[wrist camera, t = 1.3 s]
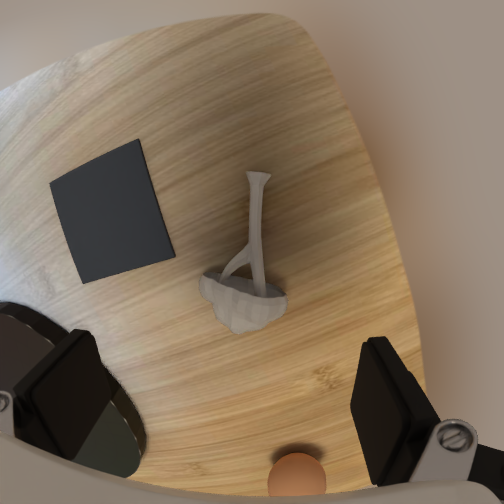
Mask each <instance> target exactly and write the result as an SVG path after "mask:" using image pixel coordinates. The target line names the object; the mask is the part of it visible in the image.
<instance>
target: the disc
mask: <svg viewBox="0 0 504 504" xmlns="http://www.w3.org/2000/svg"><path fill="white" fill-rule="evenodd" d="M67 335H68V333H66V332H65V331H64V330H63V329H61V328H60V327H58V326H57V325H55V324H54V323H52V322H51V321H50V320H48V319H47V318H45V317H44V316H42V315H40V314H38V313H36V312H34V311H32V310H30V309H28V308H26V307H23V306H20V305H16V304H13V303H0V391H6V392H8V393H10V394H11V395H12V397H13V399H14V398H15V397H16V395H15V393H14V391H13V389H12V388H13V387H14V386H15V385H16V384H17V383H18V382H19V381H20V380H21V379H22V378H23V377H24V376H25V375H26V374H27V373H28V372H29V371H30V370H31V369H32V368H33V367H34V366H35V365H36V364H37V363H38V362H39V361H40V360H42V359H43V358H44V357H45V356H46V355H47V354H48V353H49V352H50V351H51V350H52V349H53V348H54V347H55V346H56V345H57V344H58V343H60V342H61V341H62V340H63V339H64V338H65V337H66V336H67ZM103 368H104V367H103ZM104 372H105V375H106V378H107V381H108V384H109V387H110V390H111V400H110V402H109V403H108V405H107V406H106V408H105V410H104V411H103V413H102V414H101V416H100V418H99V419H98V421H97V422H96V424H95V426H94V427H93V429H92V431H91V432H90V434H89V436H88V437H87V439H86V441H85V442H84V444H83V446H82V447H81V449H80V451H79V452H78V454H77V456H76V457H75V459H73V460H71V462H74V463H77V464H80V465H82V466H85V467H88V468H91V469H95V470H98V471H101V472H104V473H108V474H111V475H115V476H118V477H122V478H127V477H129V476H131V475H132V474H134V473H135V472H136V471H137V469H138V467H139V465H140V460H141V457H142V455H143V452H144V450H145V445H146V436H145V432H144V428H143V424H142V422H141V420H140V418H139V416H138V414H137V412H136V409H135V407H134V406H133V404H132V403H131V401H130V400H129V398H128V397H127V395H126V394H125V393H124V391H123V390H122V388H121V387H120V386H119V384H118V383H117V382H116V381H115V380H114V379H113V377H112V376H111V375H110V374H109V373H108V371H107V370H106V369H105V368H104Z"/></svg>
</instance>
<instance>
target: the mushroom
mask: <svg viewBox="0 0 504 504" xmlns="http://www.w3.org/2000/svg"><path fill="white" fill-rule="evenodd" d="M246 175H247V178H248V181H249V183H250V209H249V243H248V244H247V245H246V246H245V248H244V249H243V250H242V251H240V252H239V253H238V254H237V255H236V256H235V257H234V258H233V259H232V260H231V261H230V262H229V263H228V264H227V266H226V267H225V269H224V271H223V273H222V274H220V273H214V272H205V273H203V274H202V276H201V277H200V279H199V290H200V293H201V295H202V297H203V298H205V299H206V300H207V301H209V302H211V303H213V311H214V313H215V316H216V318H217V320H218V321H220V322H221V323H222V324H223V325H225V326H227V327H228V328H229V329H230V330H231V331H232V333H236V334H242V333H244V332H246V331H256V330H260V329H262V328H264V327H265V326H266V325H267V324H268V323H269V322H271V321H273V320H276V319H278V318H280V317H282V315H283V314H284V313H285V311H286V309H287V305H288V301H289V300H288V298H287V295H286V294H285V293H284V292H283V291H282V289H280V288H279V287H277V286H275V285H273V284H270V283H265V275H264V264H263V253H262V241H261V213H262V197H263V188H264V185H265V184H266V182H267V181H268V179H269V178H270V177H271V174H267V173H263V172H253V171H247V172H246ZM249 263H250V264H251V270H252V276H253V280H252V279H246V278H243V277H238V276H232V275H231V273H232V272H234V271H235V270H236V269H238V268H239V267H240V266H243V265H245V264H249Z"/></svg>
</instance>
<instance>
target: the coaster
mask: <svg viewBox="0 0 504 504" xmlns="http://www.w3.org/2000/svg"><path fill="white" fill-rule="evenodd" d="M49 184H50V188H51V192H52V195H53V199H54V202H55V206H56V209H57V213H58V216H59V219H60V222H61V226H62V229H63V232H64V235H65V238H66V241H67V244H68V246H69V249H70V252H71V255H72V257H73V260H74V263H75V265H76V268H77V271H78V273H79V276H80V278H81V281H82V283H83V284H85V283H88V282H92V281H95V280H98V279H102V278H105V277H109V276H112V275H115V274H119V273H122V272H126V271H129V270H133V269H136V268H139V267H143V266H146V265H150V264H153V263H157V262H160V261H164V260H167V259H171V258H174V257H176V256H175V253H174V250H173V247H172V244H171V241H170V238H169V235H168V233H167V230H166V227H165V224H164V221H163V217H162V214H161V211H160V208H159V205H158V202H157V199H156V196H155V192H154V189H153V186H152V183H151V179H150V176H149V173H148V169H147V166H146V162H145V159H144V155H143V152H142V148H141V145H140V141H139V139H136V140H134V141H132V142H129V143H127V144H125V145H123V146H120V147H118V148H116V149H114V150H112V151H110V152H107V153H105V154H103V155H101V156H99V157H97V158H95V159H93V160H91V161H89V162H87V163H85V164H83V165H81V166H80V167H78V168H76V169H74V170H72V171H70V172H68V173H66V174H65V175H63V176H61V177H59V178H57V179H56V180H54V181H52V182H50V183H49Z"/></svg>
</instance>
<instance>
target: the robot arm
mask: <svg viewBox="0 0 504 504" xmlns="http://www.w3.org/2000/svg"><path fill="white" fill-rule="evenodd" d="M12 389H13V391H14V393H15V395H16V397H15V398H14V399H13V397H12V395H11V394H10V393H8V392H6V391H0V504H504V451H501V450H497V449H494V448H490V447H487V446H484V445H481V444H478V435H477V432H476V430H475V429H474V428H473V426H471V425H470V424H469V423H467V422H465V421H463V420H459V419H447V420H444V421H441V420H440V418H439V417H438V415H437V413H436V412H435V410H434V408H433V407H432V405H431V403H430V402H429V400H428V398H427V397H426V395H425V393H424V392H423V390H422V389H421V387H420V385H419V384H418V382H417V380H416V379H415V377H414V376H413V374H412V373H411V372H410V371H408V370H407V368H406V367H405V365H404V364H403V362H402V361H401V359H400V357H399V356H398V354H397V353H396V351H395V350H394V348H393V347H392V345H391V343H390V342H389V340H388V339H387V338H386V337H385V336H382V337H370V338H368V340H367V342H363V344H362V348H361V353H360V359H359V364H358V369H357V374H356V379H355V384H354V389H353V393H352V398H351V403H350V408H351V413H352V417H353V420H354V423H355V427H356V430H357V433H358V437H359V440H360V444H361V447H362V451H363V454H364V458H365V461H366V465H367V468H368V472H369V476H370V480H371V483H372V484H373V485H376V484H377V486H378V487H375V488H369V489H362V490H355V491H348V492H339V493H330V494H318V495H303V496H237V495H222V494H211V493H202V492H194V491H186V490H180V489H174V488H168V487H162V486H157V485H152V484H147V483H143V482H138V481H134V480H130V479H126V478H122V477H118V476H115V475H111V474H108V473H104V472H101V471H98V470H95V469H91V468H88V467H85V466H82V465H80V464H77V463H74V462H71V460H73V459H75V457H76V456H77V454H78V452H79V451H80V449H81V447H82V446H83V444H84V442H85V441H86V439H87V437H88V436H89V434H90V432H91V431H92V429H93V427H94V426H95V424H96V422H97V421H98V419H99V418H100V416H101V414H102V413H103V411H104V410H105V408H106V406H107V405H108V403H109V402H110V400H111V390H110V387H109V384H108V381H107V378H106V375H105V372H104V368H103V365H102V362H101V359H100V355H99V352H98V348H97V345H96V341H95V338H94V336H93V335H91V333H90V332H89V331H87V330H80V329H74V330H73V331H72V332H70V333H69V334H68V335H67V336H66V337H65V338H64V339H63V340H62V341H61V342H60V343H58V344H57V345H56V346H55V347H54V348H53V349H52V350H51V351H50V352H49V353H48V354H47V355H46V356H45V357H44V358H43V359H42V360H40V361H39V362H38V363H37V364H36V365H35V366H34V367H33V368H32V369H31V370H30V371H29V372H28V373H27V374H26V375H25V376H24V377H23V378H22V379H21V380H20V381H19V382H18V383H17V384H16V385H15V386H14V387H13V388H12Z"/></svg>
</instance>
